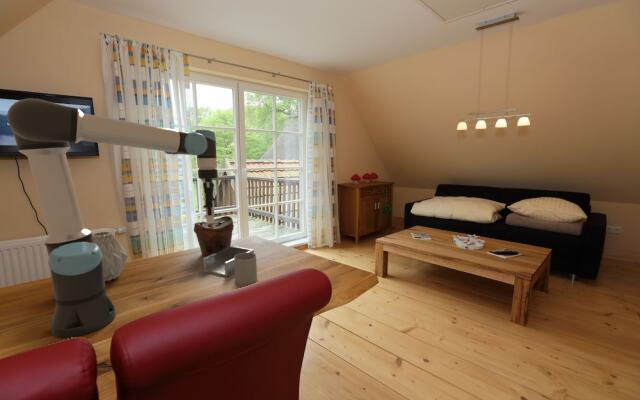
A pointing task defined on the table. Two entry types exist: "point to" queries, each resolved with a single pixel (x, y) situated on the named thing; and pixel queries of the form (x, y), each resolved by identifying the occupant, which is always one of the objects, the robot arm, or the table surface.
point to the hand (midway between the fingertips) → (210, 219)
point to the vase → (110, 254)
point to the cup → (245, 268)
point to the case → (214, 235)
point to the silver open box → (223, 261)
